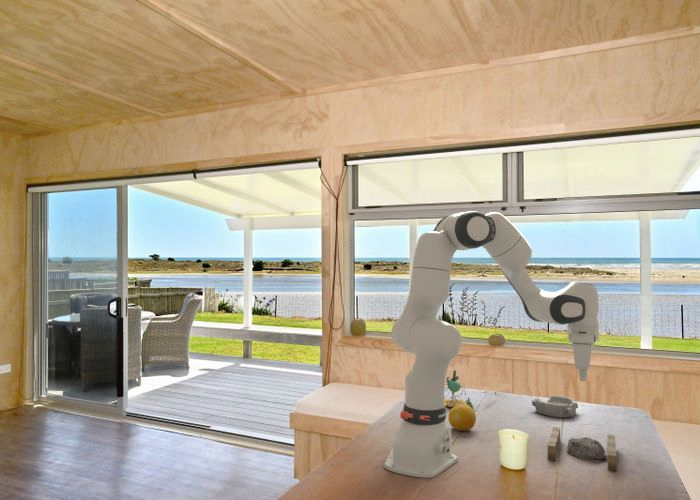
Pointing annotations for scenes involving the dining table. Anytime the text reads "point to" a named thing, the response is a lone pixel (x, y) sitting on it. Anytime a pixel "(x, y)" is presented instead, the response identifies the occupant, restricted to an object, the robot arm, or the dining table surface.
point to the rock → (585, 448)
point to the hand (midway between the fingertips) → (583, 378)
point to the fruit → (462, 417)
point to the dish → (556, 406)
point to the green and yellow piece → (454, 387)
